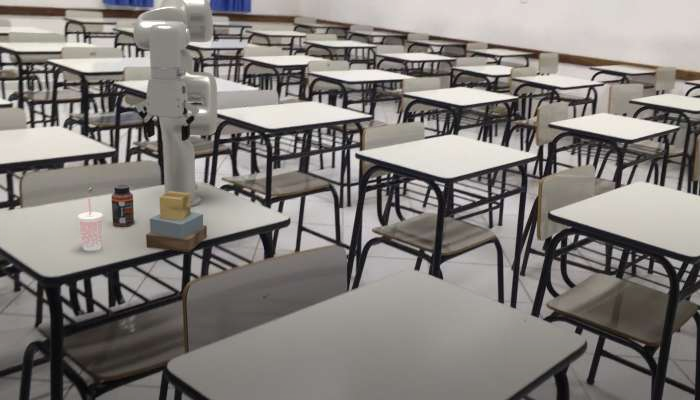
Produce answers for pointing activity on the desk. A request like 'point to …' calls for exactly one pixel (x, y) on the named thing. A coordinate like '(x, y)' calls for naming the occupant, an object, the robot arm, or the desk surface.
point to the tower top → (176, 225)
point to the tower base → (176, 241)
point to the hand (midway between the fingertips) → (168, 137)
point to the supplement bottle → (122, 206)
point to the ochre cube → (175, 206)
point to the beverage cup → (91, 229)
